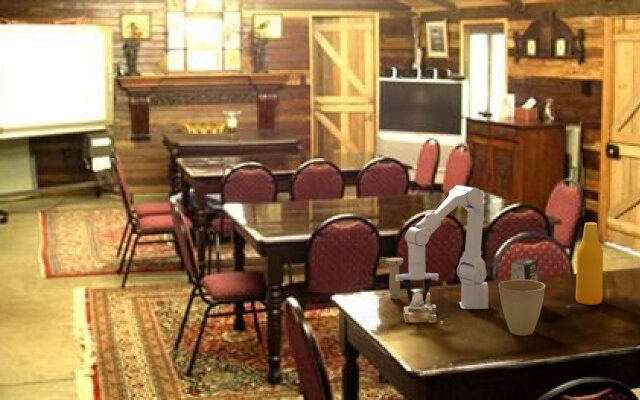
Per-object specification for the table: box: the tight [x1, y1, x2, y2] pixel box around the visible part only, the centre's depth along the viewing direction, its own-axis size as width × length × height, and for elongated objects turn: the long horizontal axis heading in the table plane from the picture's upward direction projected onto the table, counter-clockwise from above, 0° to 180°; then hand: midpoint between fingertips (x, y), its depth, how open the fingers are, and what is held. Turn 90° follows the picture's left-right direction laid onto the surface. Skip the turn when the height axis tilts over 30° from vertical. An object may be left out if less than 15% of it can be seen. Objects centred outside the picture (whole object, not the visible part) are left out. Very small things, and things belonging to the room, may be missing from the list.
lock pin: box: [425, 292, 433, 315], centre depth 331 cm, size 1×11×5 cm, turn 179°
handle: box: [385, 257, 404, 300], centre depth 348 cm, size 5×6×15 cm
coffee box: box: [510, 258, 538, 281], centre depth 336 cm, size 9×6×16 cm
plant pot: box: [497, 279, 546, 336], centre depth 305 cm, size 15×15×16 cm
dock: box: [403, 303, 437, 324], centre depth 325 cm, size 11×14×3 cm
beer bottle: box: [575, 221, 604, 306], centre depth 337 cm, size 9×9×29 cm
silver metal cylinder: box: [409, 288, 425, 310], centre depth 322 cm, size 5×5×6 cm
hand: (417, 300), depth 322 cm, fingers closed on silver metal cylinder, 4 cm apart
